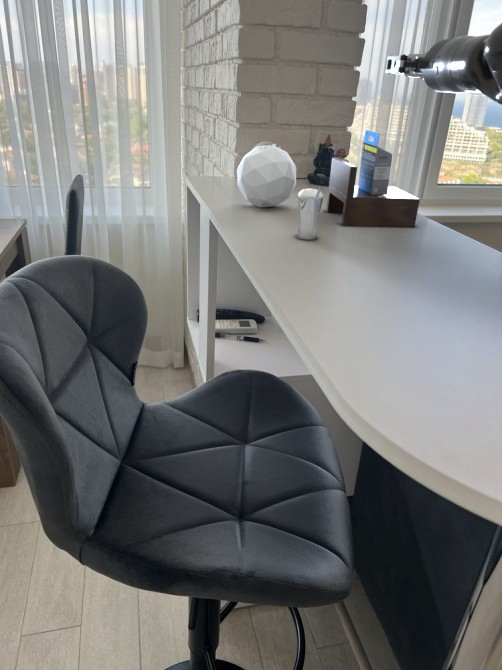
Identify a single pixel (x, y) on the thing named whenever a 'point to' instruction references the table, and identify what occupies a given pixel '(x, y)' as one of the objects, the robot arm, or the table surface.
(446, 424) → the table surface
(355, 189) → the l-shaped wooden block
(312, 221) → the milkshake
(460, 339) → the table surface
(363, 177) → the label tape box
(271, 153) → the geodesic sphere
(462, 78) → the robot arm
